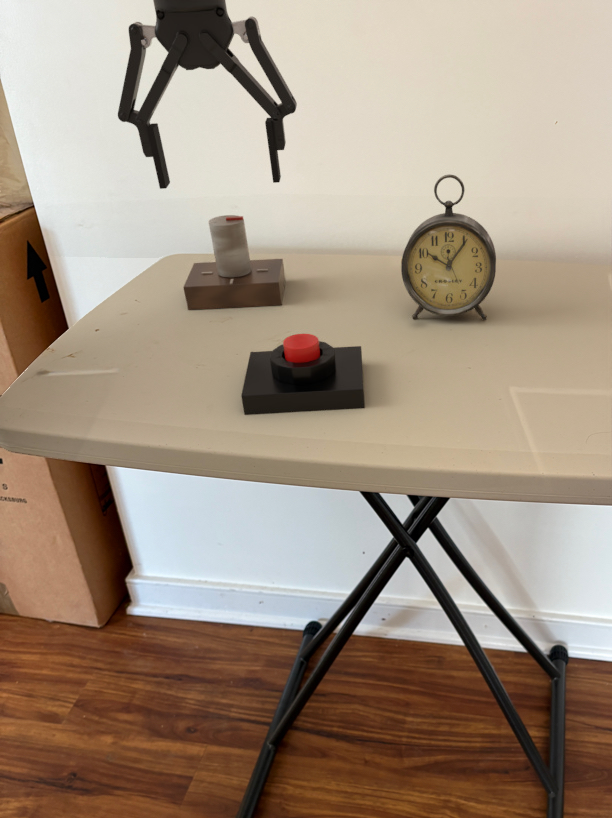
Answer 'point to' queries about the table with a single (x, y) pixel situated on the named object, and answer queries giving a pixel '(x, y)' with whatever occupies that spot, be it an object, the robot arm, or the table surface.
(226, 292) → the panel
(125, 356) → the table surface
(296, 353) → the light button
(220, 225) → the dimmer knob
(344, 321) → the table surface
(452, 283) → the alarm clock
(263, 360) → the switch block
